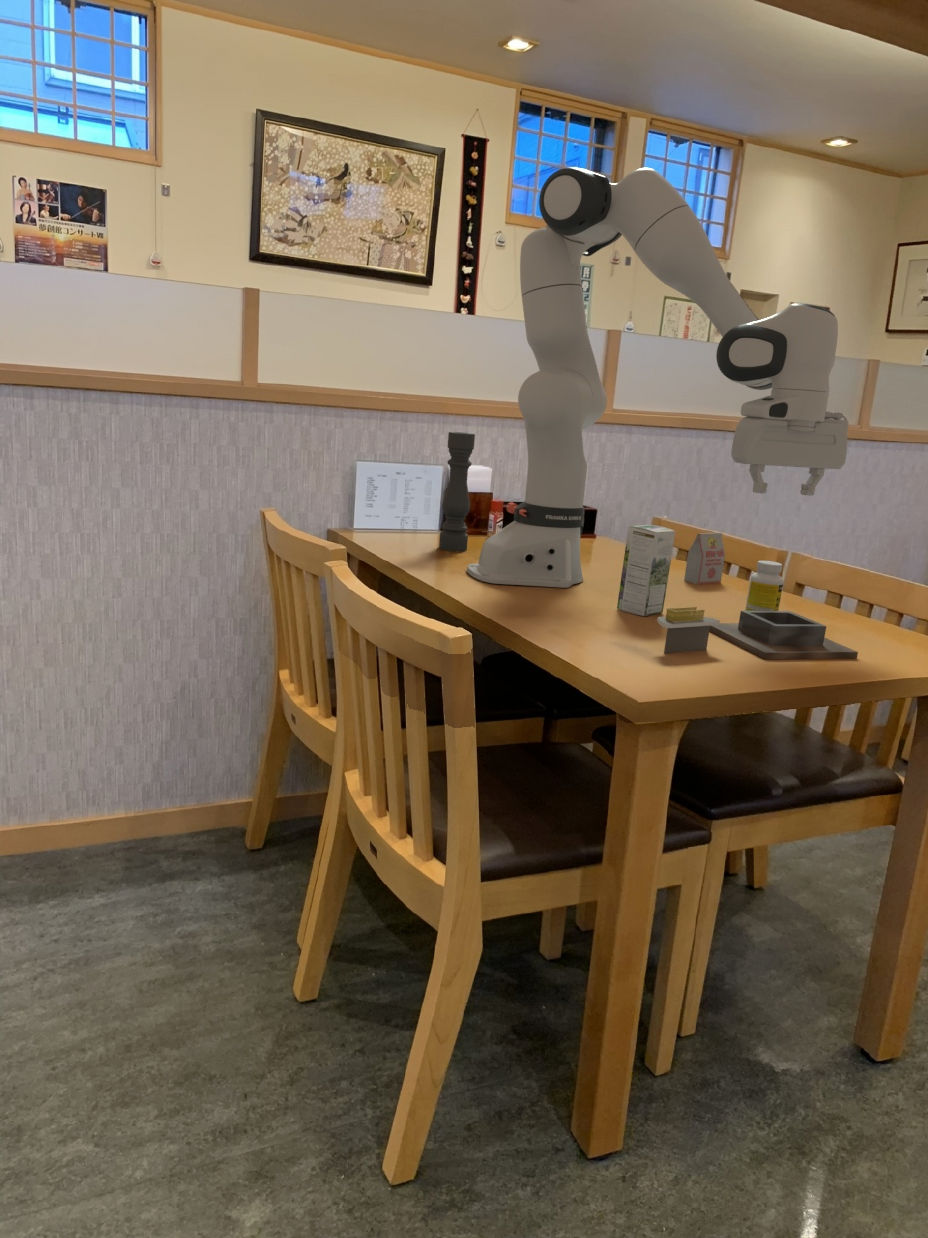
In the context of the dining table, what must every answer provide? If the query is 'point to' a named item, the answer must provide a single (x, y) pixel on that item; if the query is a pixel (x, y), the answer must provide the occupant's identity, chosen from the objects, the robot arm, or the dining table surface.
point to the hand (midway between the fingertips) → (783, 494)
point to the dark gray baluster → (457, 493)
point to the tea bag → (705, 559)
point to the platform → (686, 629)
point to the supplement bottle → (765, 587)
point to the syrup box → (645, 569)
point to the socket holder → (781, 636)
